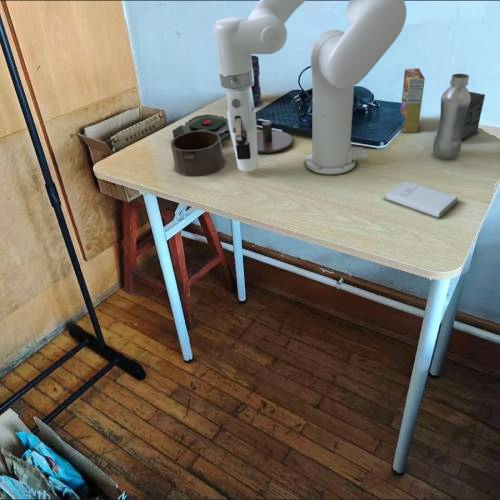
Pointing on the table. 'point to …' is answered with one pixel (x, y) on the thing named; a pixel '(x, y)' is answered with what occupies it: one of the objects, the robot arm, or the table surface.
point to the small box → (472, 115)
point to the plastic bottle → (452, 117)
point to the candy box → (412, 99)
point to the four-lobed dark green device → (206, 126)
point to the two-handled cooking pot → (197, 152)
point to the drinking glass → (252, 140)
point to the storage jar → (256, 82)
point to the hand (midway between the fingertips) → (245, 151)
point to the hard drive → (422, 198)
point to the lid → (272, 139)
